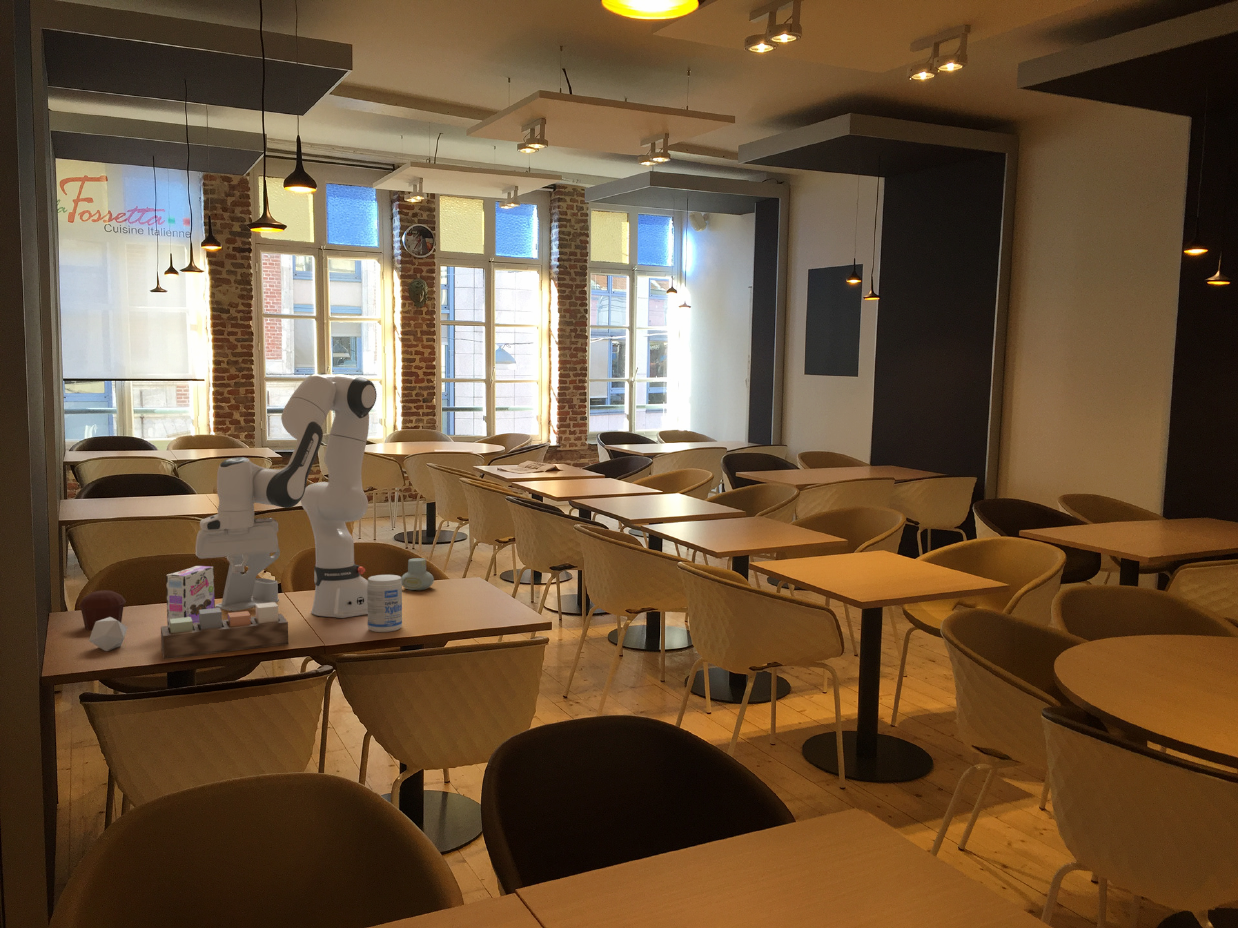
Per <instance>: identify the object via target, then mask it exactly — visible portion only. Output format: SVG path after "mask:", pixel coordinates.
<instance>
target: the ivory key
mask: <svg viewBox="0 0 1238 928" xmlns="http://www.w3.org/2000/svg"><path fill="white" fill-rule="evenodd" d="M255 605H256V607H255V616H256V623H257V624H258V623H267V622H276V621H278V614H279V605H278V604H277V602H271V603H261V604H255Z"/></svg>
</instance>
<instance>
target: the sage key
mask: <svg viewBox="0 0 1238 928" xmlns="http://www.w3.org/2000/svg"><path fill="white" fill-rule="evenodd" d="M185 631H193V622H192V619H191V617H185V618H175V619H170V633H176V632H185Z"/></svg>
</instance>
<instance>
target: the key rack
mask: <svg viewBox="0 0 1238 928" xmlns="http://www.w3.org/2000/svg"><path fill="white" fill-rule="evenodd" d="M250 618H251V624H249V625H240V626H231V627H228V618H227V619H222V628H213V629H203V630H200V629H199V623H193V631H185V632H176V633H170V626H168V625H163V626H162V625H161V626H160V638H161V639H160V641H161V643H160V645H161V646H160V647H161V652H162V656H163V659H164V660H169V659H177V658H178V659H179V658H185V657H186V658H187V657H194V656H202V655H208V654H209V655H210V654H217V653H226V652H227V653H229V652H234V651H235V652H236V651H242V650H243V651H244V650H251V649H260V648H268V647H277V646H285V645H289V622H288V620H287V619H286V618H285V616H284V615H283V614H282V613H278V621H276V622H267V623H258V624H257V623H256V615H255V616H250Z"/></svg>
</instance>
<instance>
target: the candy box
mask: <svg viewBox="0 0 1238 928" xmlns="http://www.w3.org/2000/svg"><path fill="white" fill-rule="evenodd" d="M214 572H215V570H214V566H207V565H206V566H205V565H195V566H192V567H190V568H186V569H183V570H180V571H176V572H172V573H168V574H166V576H165V577H166V578H165V579H166V609H167V610H166V613H167V614H166V615H167V616H166V618H167V619H166V620H167V622H166V623H167V626H170V619H175V618H185V617H191V619H192V622H193V623H199V610H202V609H211V608H216V607H215V605H216V602H215V601H216V600H215V597H216V596H215V576H214V575H215V573H214Z"/></svg>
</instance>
